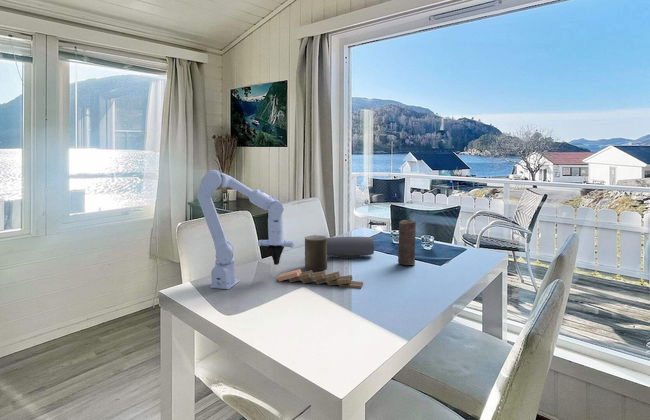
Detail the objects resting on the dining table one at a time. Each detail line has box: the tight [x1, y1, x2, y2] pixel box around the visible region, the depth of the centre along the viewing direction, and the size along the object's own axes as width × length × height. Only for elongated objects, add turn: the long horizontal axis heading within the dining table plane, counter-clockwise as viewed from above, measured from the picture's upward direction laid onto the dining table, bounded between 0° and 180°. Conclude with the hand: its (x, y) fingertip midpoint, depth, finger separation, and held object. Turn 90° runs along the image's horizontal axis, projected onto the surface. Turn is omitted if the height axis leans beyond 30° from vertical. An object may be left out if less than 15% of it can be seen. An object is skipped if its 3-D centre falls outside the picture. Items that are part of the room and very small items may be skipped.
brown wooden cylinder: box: [397, 219, 417, 266], centre depth 165 cm, size 8×7×20 cm
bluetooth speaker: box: [327, 236, 375, 259], centre depth 178 cm, size 23×9×10 cm, turn 92°
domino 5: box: [327, 274, 353, 286], centre depth 143 cm, size 5×2×8 cm
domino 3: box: [301, 270, 327, 284], centre depth 146 cm, size 5×2×8 cm
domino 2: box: [288, 270, 314, 283], centre depth 147 cm, size 5×2×8 cm
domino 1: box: [277, 268, 303, 282], centre depth 149 cm, size 5×2×8 cm
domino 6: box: [338, 280, 364, 290], centre depth 143 cm, size 5×2×8 cm
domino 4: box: [315, 271, 341, 285], centre depth 145 cm, size 5×2×8 cm
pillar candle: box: [304, 234, 328, 272], centre depth 162 cm, size 10×10×15 cm
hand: (276, 263), depth 149 cm, fingers closed
